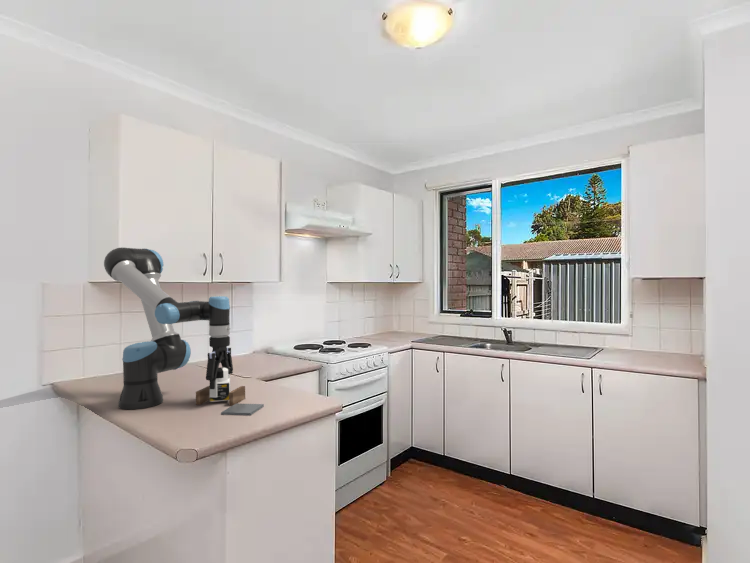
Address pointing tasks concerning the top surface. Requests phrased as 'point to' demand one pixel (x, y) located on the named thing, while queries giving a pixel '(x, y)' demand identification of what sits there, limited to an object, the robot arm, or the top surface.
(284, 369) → the top surface
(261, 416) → the top surface
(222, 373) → the medicine bottle
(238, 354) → the top surface
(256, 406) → the trivet
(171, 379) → the top surface
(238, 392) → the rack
